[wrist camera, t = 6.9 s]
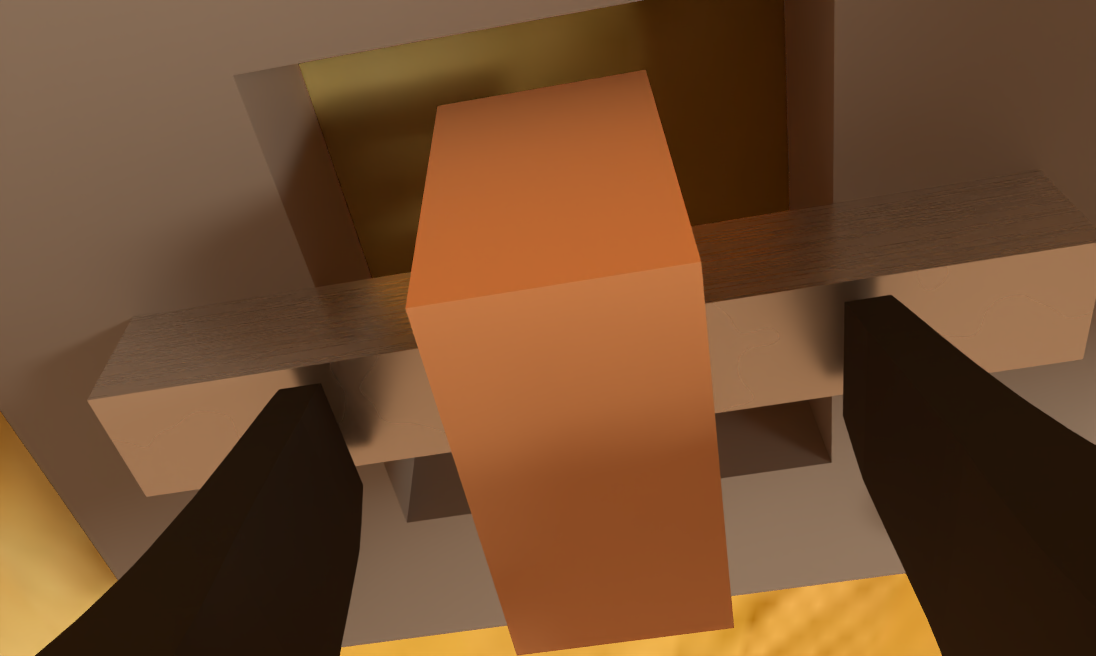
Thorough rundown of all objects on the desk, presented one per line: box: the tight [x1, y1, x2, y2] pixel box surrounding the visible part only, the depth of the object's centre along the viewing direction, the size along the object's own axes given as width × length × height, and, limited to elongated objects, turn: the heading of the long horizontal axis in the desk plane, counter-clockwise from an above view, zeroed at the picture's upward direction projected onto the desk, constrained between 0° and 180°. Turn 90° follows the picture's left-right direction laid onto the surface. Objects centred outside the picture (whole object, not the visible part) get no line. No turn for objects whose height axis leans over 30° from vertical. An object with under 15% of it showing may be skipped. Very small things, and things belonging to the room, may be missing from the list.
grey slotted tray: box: [0, 0, 1096, 647], centre depth 16 cm, size 20×16×5 cm
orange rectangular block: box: [405, 70, 734, 655], centre depth 13 cm, size 3×6×5 cm, turn 10°
